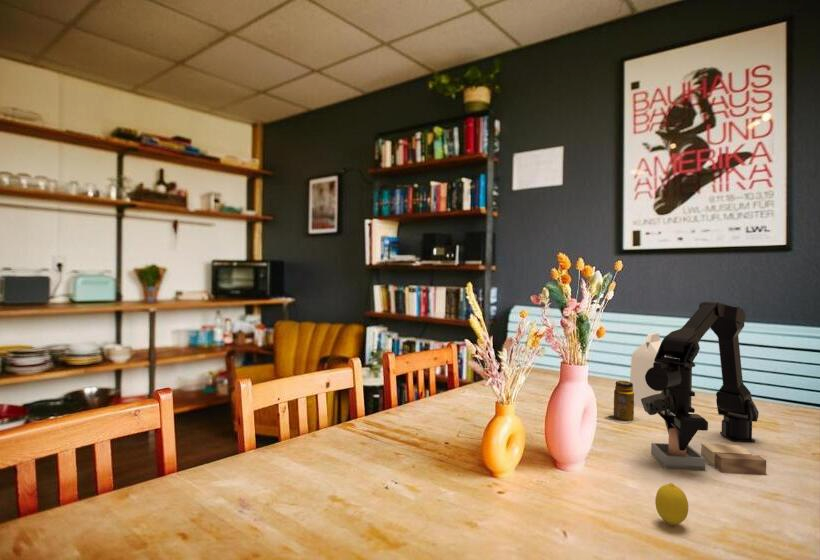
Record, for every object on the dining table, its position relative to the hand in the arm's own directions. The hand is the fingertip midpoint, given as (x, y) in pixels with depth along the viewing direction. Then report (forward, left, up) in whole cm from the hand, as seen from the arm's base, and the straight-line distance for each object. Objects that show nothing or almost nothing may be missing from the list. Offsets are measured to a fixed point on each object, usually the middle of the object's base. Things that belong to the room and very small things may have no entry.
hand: (677, 446), depth 121 cm
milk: (-13, -53, -4) cm, 55 cm away
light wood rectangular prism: (-12, -1, -4) cm, 13 cm away
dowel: (0, 0, -3) cm, 3 cm away
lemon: (+14, +32, -4) cm, 35 cm away
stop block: (-13, +4, -4) cm, 14 cm away
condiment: (+3, -35, -4) cm, 35 cm away
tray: (0, 0, -4) cm, 4 cm away
